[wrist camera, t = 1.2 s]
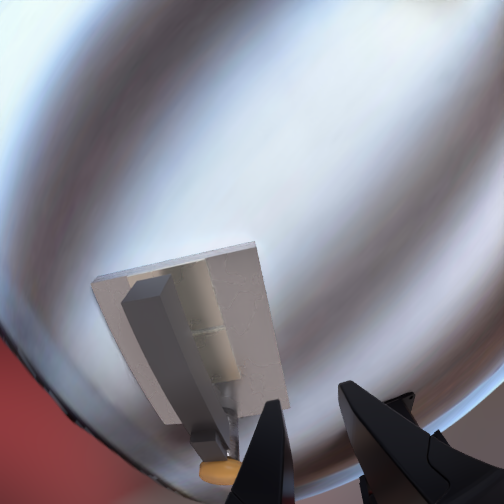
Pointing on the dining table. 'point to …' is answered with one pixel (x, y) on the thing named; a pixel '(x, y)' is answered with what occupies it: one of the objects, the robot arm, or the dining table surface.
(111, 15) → the dining table surface
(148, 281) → the bar
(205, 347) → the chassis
